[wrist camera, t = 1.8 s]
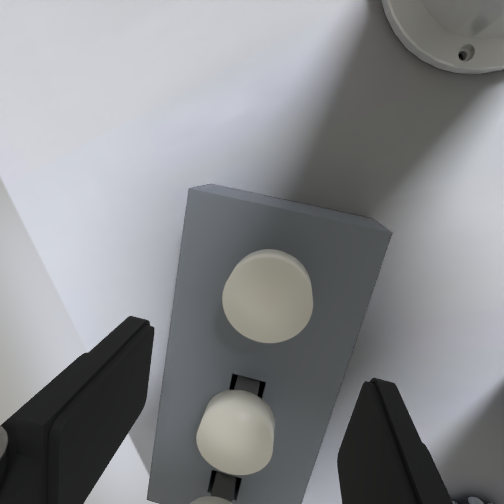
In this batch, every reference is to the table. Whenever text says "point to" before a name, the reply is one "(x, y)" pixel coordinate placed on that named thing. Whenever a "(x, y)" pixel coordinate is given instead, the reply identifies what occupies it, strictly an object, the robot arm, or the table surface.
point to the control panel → (257, 353)
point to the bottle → (473, 501)
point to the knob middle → (237, 430)
